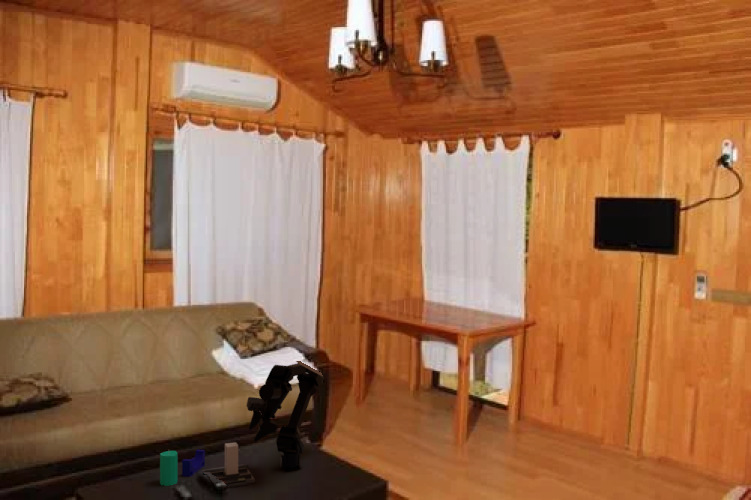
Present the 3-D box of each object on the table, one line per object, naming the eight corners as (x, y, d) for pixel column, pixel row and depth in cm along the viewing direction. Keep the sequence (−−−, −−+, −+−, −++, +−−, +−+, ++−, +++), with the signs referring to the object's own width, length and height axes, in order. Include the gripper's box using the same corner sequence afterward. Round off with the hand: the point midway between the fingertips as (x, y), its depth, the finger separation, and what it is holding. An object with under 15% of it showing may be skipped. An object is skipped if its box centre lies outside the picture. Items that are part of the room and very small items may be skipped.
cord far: (246, 466, 254) (246, 462, 254) (248, 469, 251) (248, 465, 251) (201, 472, 247) (201, 468, 247) (203, 475, 245) (203, 471, 245)
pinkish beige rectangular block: (236, 471, 244) (237, 442, 244) (239, 476, 240) (239, 445, 240) (223, 473, 242) (223, 443, 242) (225, 478, 238) (225, 447, 238)
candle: (161, 487, 233) (161, 453, 233) (158, 481, 239) (158, 447, 238) (179, 484, 236) (179, 450, 236) (175, 478, 242) (175, 445, 241)
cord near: (246, 484, 237) (246, 481, 237) (247, 485, 236) (247, 482, 236) (228, 487, 234) (228, 483, 234) (228, 488, 233) (228, 484, 233)
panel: (246, 470, 250) (246, 465, 250) (254, 482, 239) (254, 476, 239) (208, 475, 244) (208, 470, 244) (214, 488, 233) (214, 482, 233)
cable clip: (193, 464, 256) (193, 449, 255) (204, 465, 255) (204, 450, 254) (178, 476, 244) (178, 460, 244) (189, 477, 243) (189, 461, 243)
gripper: (252, 379, 249) (229, 414, 249) (261, 401, 232) (237, 439, 232) (276, 391, 254) (254, 425, 254) (288, 414, 237) (264, 451, 237)
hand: (252, 434), depth 244 cm, fingers open, 9 cm apart
